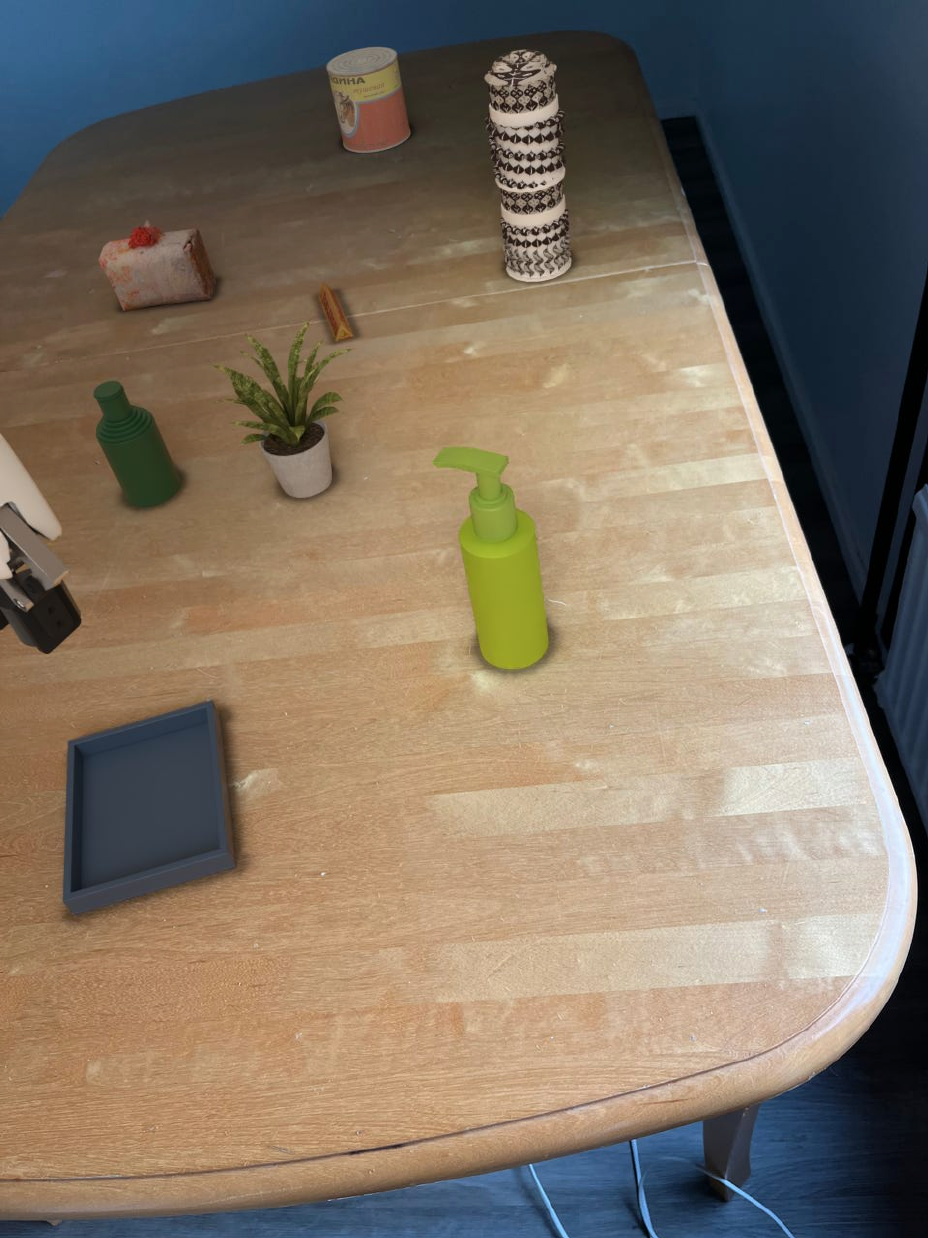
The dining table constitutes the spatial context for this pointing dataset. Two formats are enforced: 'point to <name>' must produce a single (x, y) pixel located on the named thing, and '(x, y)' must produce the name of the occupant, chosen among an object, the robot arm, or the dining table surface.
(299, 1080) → the dining table surface
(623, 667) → the dining table surface
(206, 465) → the dining table surface
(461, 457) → the soap dispenser
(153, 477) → the bottle
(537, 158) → the decorative candle
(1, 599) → the cap
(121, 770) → the tray
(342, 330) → the chocolate bar
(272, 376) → the house plant
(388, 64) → the canned food
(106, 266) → the food item
